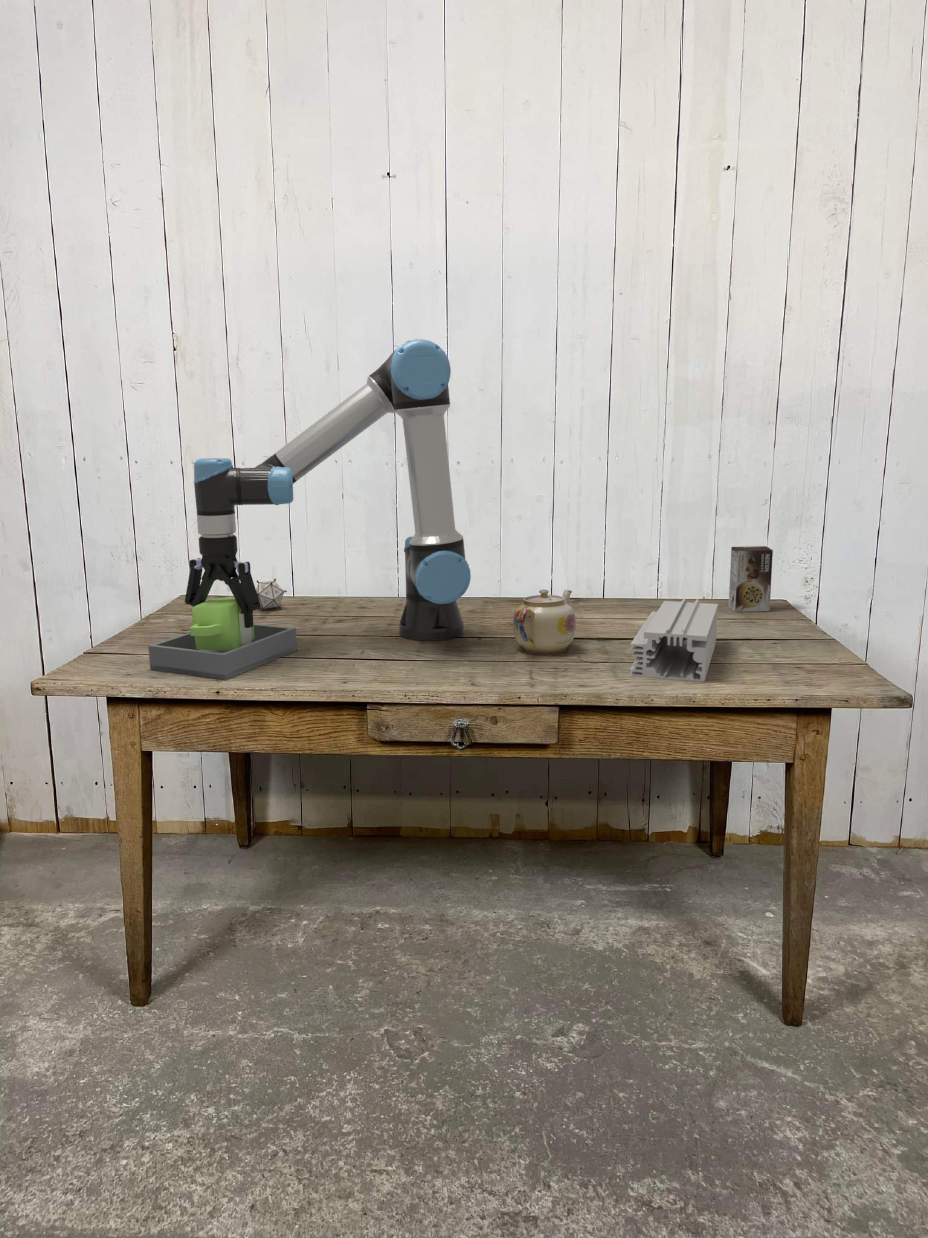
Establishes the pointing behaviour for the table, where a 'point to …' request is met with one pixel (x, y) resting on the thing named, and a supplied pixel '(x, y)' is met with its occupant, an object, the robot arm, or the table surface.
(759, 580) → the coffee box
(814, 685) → the table surface
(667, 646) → the aluminum extrusion profile
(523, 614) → the teapot
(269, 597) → the game die
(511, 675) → the table surface
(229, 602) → the green handled block
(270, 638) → the gray tray
